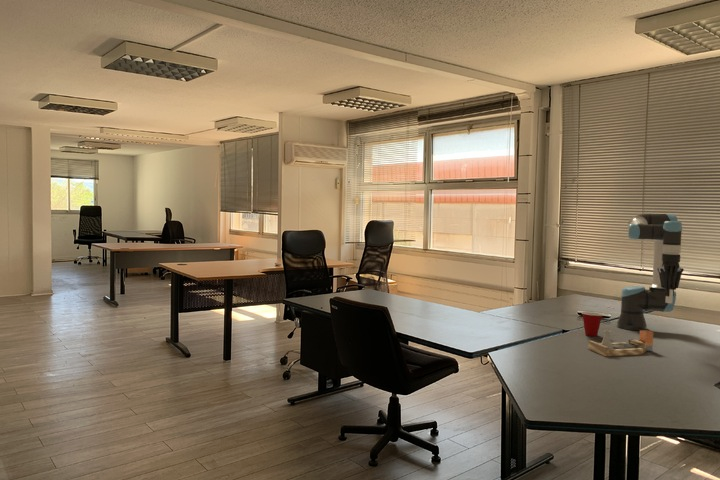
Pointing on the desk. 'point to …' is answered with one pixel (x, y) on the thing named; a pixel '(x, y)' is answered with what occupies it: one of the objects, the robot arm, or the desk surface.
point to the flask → (607, 340)
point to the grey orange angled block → (644, 337)
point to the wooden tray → (616, 352)
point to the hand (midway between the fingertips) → (668, 302)
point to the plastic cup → (591, 323)
